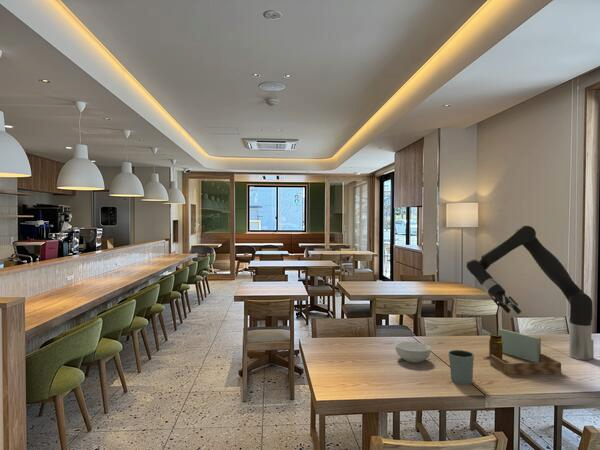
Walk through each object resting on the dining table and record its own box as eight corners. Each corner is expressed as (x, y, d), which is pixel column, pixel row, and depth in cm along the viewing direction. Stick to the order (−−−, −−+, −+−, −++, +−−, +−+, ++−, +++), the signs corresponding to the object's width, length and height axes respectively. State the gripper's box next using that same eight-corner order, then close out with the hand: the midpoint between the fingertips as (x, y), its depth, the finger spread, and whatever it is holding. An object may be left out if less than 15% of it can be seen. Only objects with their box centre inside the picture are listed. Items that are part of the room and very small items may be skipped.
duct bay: (542, 364, 195) (542, 353, 195) (561, 373, 182) (561, 362, 182) (490, 365, 194) (490, 354, 194) (505, 374, 181) (505, 363, 181)
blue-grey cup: (477, 385, 168) (477, 357, 169) (453, 385, 169) (453, 356, 169) (468, 376, 179) (468, 349, 179) (445, 376, 179) (445, 349, 179)
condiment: (506, 359, 202) (506, 335, 202) (496, 362, 198) (496, 338, 198) (492, 355, 208) (492, 332, 208) (483, 358, 204) (482, 334, 204)
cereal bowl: (436, 359, 201) (436, 345, 201) (421, 368, 189) (421, 353, 189) (405, 352, 213) (405, 339, 213) (389, 360, 201) (389, 346, 201)
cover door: (541, 363, 195) (541, 337, 195) (539, 364, 195) (539, 338, 195) (499, 351, 215) (499, 327, 215) (498, 351, 215) (498, 327, 215)
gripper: (489, 282, 207) (510, 306, 195) (506, 285, 214) (528, 308, 202) (480, 292, 211) (500, 316, 199) (497, 294, 217) (518, 318, 205)
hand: (514, 312), depth 200 cm, fingers open, 8 cm apart
